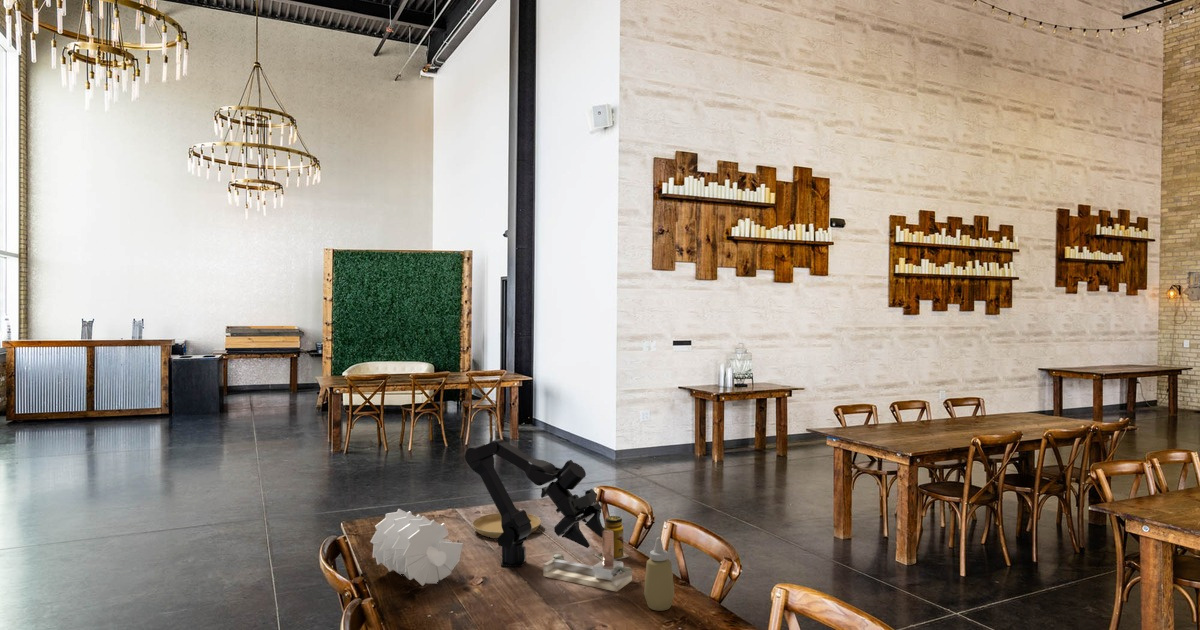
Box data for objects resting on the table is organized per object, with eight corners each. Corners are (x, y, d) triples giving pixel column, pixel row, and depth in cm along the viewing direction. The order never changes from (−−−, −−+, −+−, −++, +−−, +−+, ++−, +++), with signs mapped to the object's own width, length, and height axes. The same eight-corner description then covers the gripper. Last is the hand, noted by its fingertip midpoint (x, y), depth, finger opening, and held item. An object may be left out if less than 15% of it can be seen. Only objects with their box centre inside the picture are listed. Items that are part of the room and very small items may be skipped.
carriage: (592, 578, 203) (592, 533, 203) (605, 570, 210) (604, 527, 209) (611, 582, 200) (611, 537, 200) (623, 574, 207) (622, 530, 206)
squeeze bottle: (641, 601, 192) (641, 533, 192) (671, 599, 193) (671, 532, 192) (646, 614, 184) (645, 543, 184) (677, 612, 185) (676, 542, 184)
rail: (541, 575, 211) (541, 562, 211) (557, 565, 219) (557, 553, 219) (619, 592, 198) (619, 578, 198) (634, 581, 206) (634, 567, 206)
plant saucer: (549, 522, 264) (549, 513, 264) (528, 543, 241) (528, 533, 240) (487, 518, 269) (487, 510, 269) (461, 539, 246) (461, 529, 246)
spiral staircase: (426, 605, 201) (379, 578, 218) (473, 562, 212) (425, 540, 229) (402, 554, 194) (355, 530, 211) (451, 513, 206) (403, 494, 223)
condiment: (629, 556, 226) (628, 518, 226) (606, 562, 222) (606, 523, 221) (615, 550, 232) (615, 513, 232) (593, 555, 228) (593, 517, 228)
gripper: (562, 489, 201) (597, 534, 196) (595, 475, 217) (629, 516, 212) (539, 514, 205) (573, 558, 200) (574, 498, 221) (606, 539, 216)
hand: (596, 542), depth 207 cm, fingers open, 9 cm apart
